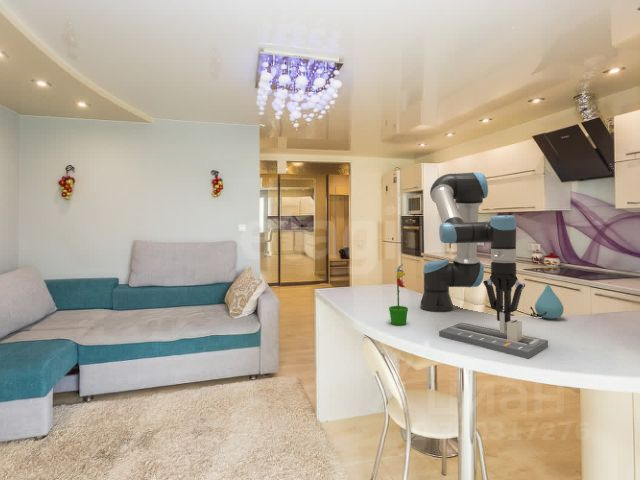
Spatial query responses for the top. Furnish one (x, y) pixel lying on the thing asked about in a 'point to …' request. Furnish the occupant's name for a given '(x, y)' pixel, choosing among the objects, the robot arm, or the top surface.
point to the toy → (548, 305)
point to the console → (494, 340)
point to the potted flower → (398, 312)
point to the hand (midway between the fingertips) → (503, 331)
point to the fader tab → (514, 330)
